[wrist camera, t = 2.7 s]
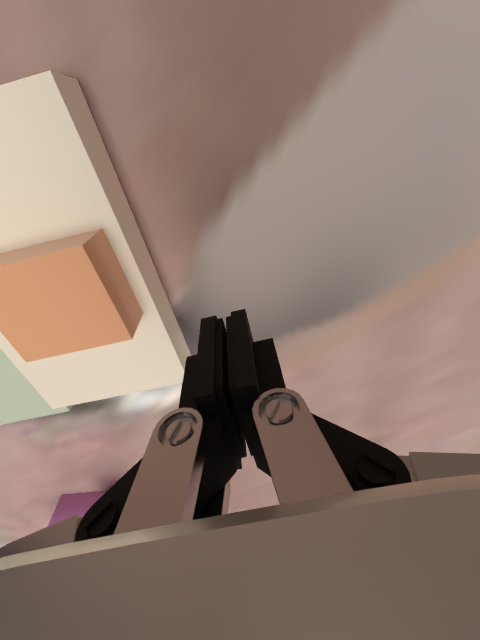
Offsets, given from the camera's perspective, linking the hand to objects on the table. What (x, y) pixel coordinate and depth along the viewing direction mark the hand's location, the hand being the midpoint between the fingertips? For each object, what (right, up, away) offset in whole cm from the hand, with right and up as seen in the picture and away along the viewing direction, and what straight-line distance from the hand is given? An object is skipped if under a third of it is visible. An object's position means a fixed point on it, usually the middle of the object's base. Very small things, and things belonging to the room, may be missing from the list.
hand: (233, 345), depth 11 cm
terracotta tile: (-11, +3, +8) cm, 13 cm away
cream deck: (-12, +4, +10) cm, 17 cm away
